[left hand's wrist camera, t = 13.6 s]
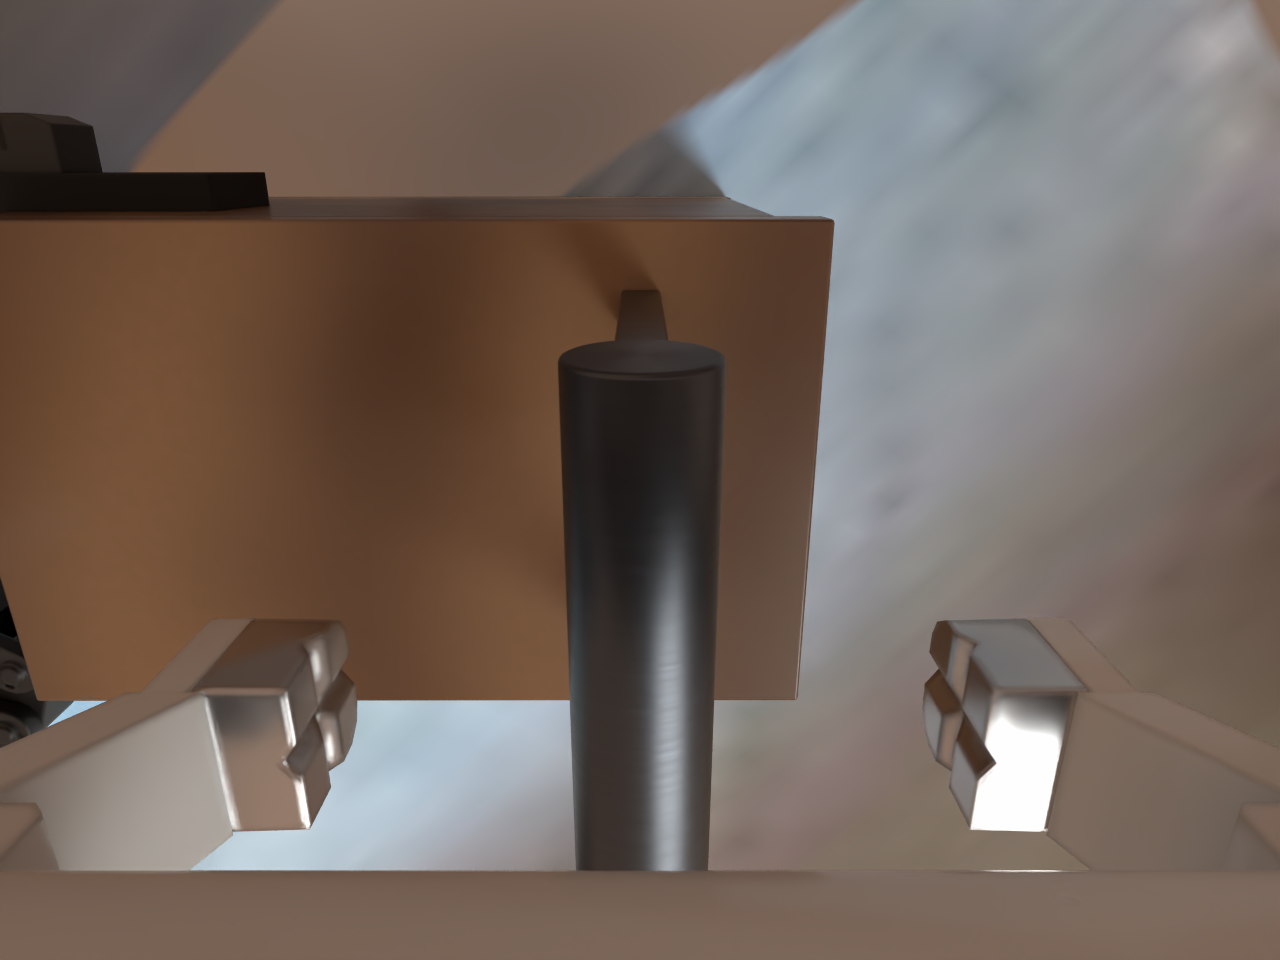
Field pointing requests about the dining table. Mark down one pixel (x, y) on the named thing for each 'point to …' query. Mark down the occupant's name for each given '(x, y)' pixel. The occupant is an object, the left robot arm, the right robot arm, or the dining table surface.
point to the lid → (429, 467)
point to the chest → (456, 208)
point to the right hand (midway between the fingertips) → (278, 424)
